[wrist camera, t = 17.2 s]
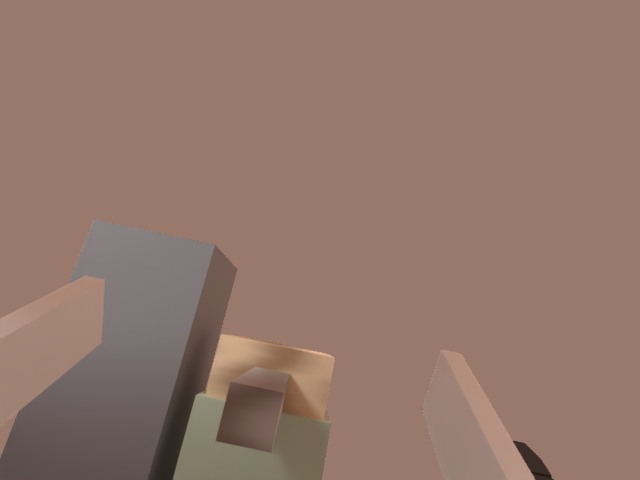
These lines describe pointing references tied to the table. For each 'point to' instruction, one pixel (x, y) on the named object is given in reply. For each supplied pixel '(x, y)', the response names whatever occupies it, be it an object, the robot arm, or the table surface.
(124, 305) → the tall stand
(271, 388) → the handle block
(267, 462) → the low stand
